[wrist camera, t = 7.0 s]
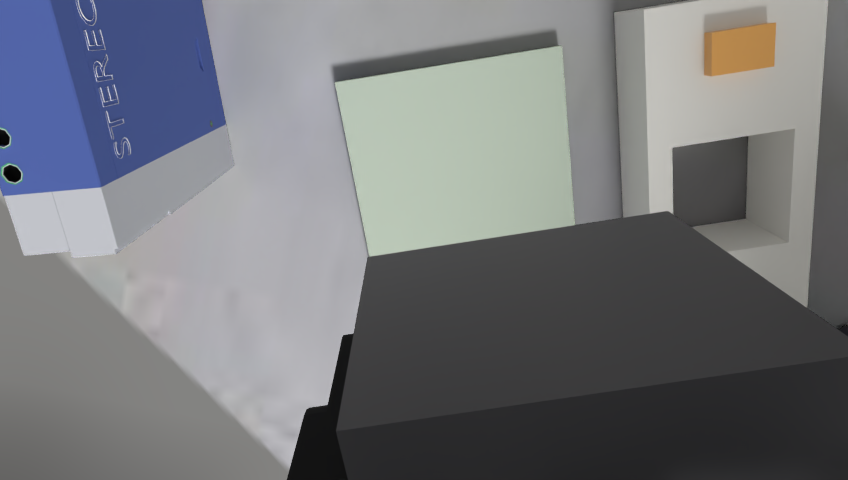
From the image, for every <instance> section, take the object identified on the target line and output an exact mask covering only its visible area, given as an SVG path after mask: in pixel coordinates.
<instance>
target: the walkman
mask: <svg viewBox="0 0 848 480" xmlns="http://www.w3.org/2000/svg"><path fill="white" fill-rule="evenodd" d="M233 166H234V162H233V157H232V151H231V146H230V141H229V136H228V131H227V126H226V122H225V117H224V112H223V107H222V102H221V97H220V92H219V86H218V81H217V76H216V71H215V66H214V61H213V56H212V51H211V46H210V41H209V36H208V31H207V26H206V21H205V16H204V11H203V5H202V0H0V188H1V191H2V194H3V196H4V198H5V201H6V204H7V207H8V210H9V212H10V215H11V218H12V221H13V225H14V227H15V231H16V234H17V236H18V240H19V243H20V246H21V249H22V251H23V255H25V256H26V255H37V254H47V253H58V252H69V251H70V252H71V256H72V258H76V257H87V256H99V255H110V254H117V253H118V252H120V251H121V250H122V249H123V248H125V247H126V246H127V245H129V244H130V243H131V242H133V241H134V240H136V239H137V238H138V237H139V236H140V235H142V234H143V233H144V232H146V231H147V230H149V229H150V228H151V227H153V226H154V225H155V224H157V223H158V222H159V221H161V220H162V219H163V218H164V217H166V216H167V215H168V214H172V213H173V212H175V211H176V210H177V209H179V208H180V207H181V206H183V205H184V204H185V203H186V202H188V201H189V200H190V199H192V198H193V197H194V196H196V195H197V194H198V193H199V192H201V191H202V190H203V189H205V188H206V187H207V186H209V185H210V184H211V183H213V182H214V181H215V180H216V179H218V178H219V177H220V176H222V175H223V174H224V173H226V172H227V171H228V170H230V169H231V168H232V167H233Z"/></svg>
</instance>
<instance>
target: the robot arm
mask: <svg viewBox="0 0 848 480" xmlns="http://www.w3.org/2000/svg"><path fill="white" fill-rule="evenodd" d="M353 335H354V334H348V335H343V337H342V341H341V346H340V351H339V355H338V360H337V365H336V369H335V374H334V379H333V383H332V388H331V393H330V397H329V402H328V405H325V406H319V407H312V408H308V409H307V410H306V412H305V415H304V418H303V422H302V426H301V429H300V433H299V437H298V441H297V444H296V448H295V452H294V455H293V459H292V463H291V467H290V470H289V474H288V478H287V480H348V478H347V474H346V470H345V466H344V462H343V458H342V454H341V450H340V446H339V441H338V437H337V433H336V428H337V423H338V417H339V412H340V406H341V401H342V395H343V390H344V384H345V379H346V373H347V368H348V362H349V357H350V351H351V346H352V340H353Z"/></svg>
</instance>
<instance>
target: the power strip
mask: <svg viewBox="0 0 848 480" xmlns="http://www.w3.org/2000/svg"><path fill="white" fill-rule="evenodd" d="M827 12H828V0H687V1H681V2H674V3H668V4H662V5H656V6H650V7H644V8H638V9H632V10H625V11H619V12H614V24H615V46H616V69H617V91H618V114H619V137H620V159H621V182H622V205H623V218H625V217H631V216H638V215H644V214H651V213H657V212H664V211H669V212H670V213H672V214H673V164H672V148H674V147H680V146H687V145H693V144H699V143H706V142H712V141H719V140H725V139H731V138H738V137H744V136H748V162H747V197H746V219H740V220H734V221H727V222H720V223H714V224H707V225H701V226H694V227H692V228H693V229H695V230H696V231H698V232H699V233H700V234H702V235H703V236H705V237H706V238H708V239H709V240H710V241H712V242H713V243H715V244H716V245H718V246H719V247H720V248H722V249H723V250H725V251H726V252H728V253H729V254H731V255H732V256H733V257H735V258H736V259H738V260H739V261H741V262H742V263H743V264H745V265H746V266H748V267H749V268H751V269H752V270H753V271H755V272H756V273H758V274H759V275H761V276H762V277H763V278H765V279H766V280H768V281H769V282H771V283H772V284H773V285H775V286H776V287H778V288H779V289H781V290H782V291H783V292H785V293H786V294H788V295H789V296H791V297H792V298H793V299H795V300H796V301H798V302H799V303H801V304H802V305H803V306H805V307H806V308H807V303H808V289H809V274H810V260H811V245H812V231H813V216H814V201H815V187H816V172H817V158H818V143H819V129H820V114H821V99H822V85H823V70H824V56H825V41H826V26H827Z"/></svg>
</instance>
